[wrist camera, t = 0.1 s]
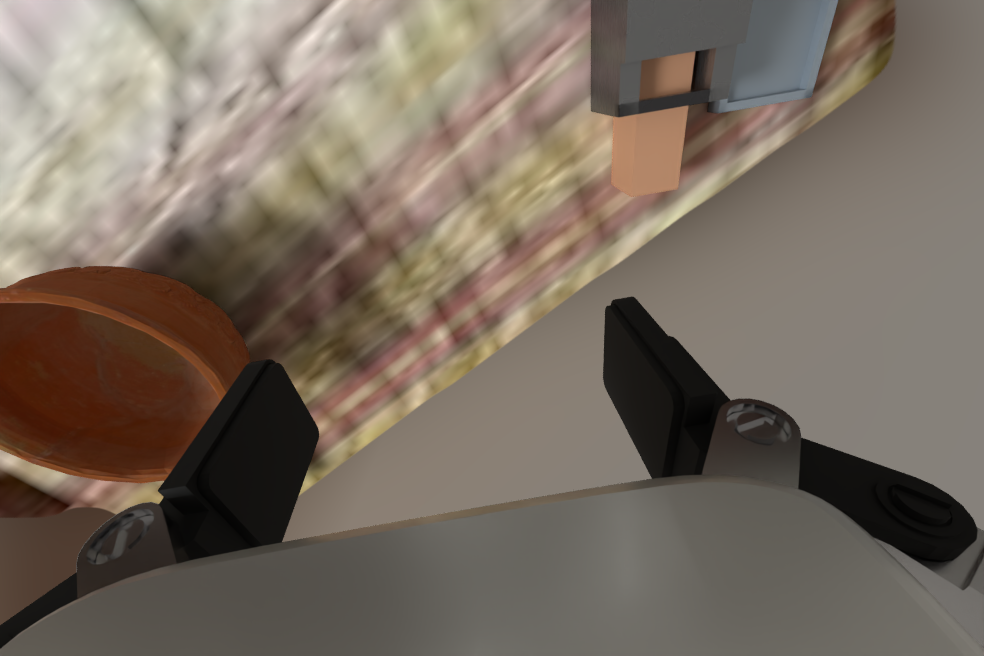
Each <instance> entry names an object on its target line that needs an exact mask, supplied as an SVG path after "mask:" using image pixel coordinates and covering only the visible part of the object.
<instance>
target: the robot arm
mask: <svg viewBox="0 0 984 656" xmlns="http://www.w3.org/2000/svg"><path fill="white" fill-rule="evenodd" d="M603 380H604V385H605V388H606V390H607V392H608V394H609V396H610V398H611V400H612V402H613V404H614V406H615V408H616V410H617V411H618V414H619V415H620V417H621V419H622V421H623V423H624V425H625V427H626V429H627V431H628V433H629V435H630V437H631V439H632V441H633V443H634V445H635V446H636V448H637V450H638V452H639V454H640V456H641V458H642V460H643V462H644V464H645V466H646V468H647V470H648V472H649V474H650V476H651V477H652V479H647V480H641V481H634V482H628V483H621V484H615V485H608V486H602V487H595V488H589V489H583V490H577V491H571V492H565V493H559V494H553V495H547V496H542V497H536V498H530V499H524V500H518V501H513V502H506V503H501V504H495V505H489V506H483V507H478V508H472V509H466V510H460V511H455V512H449V513H444V514H437V515H432V516H426V517H420V518H415V519H409V520H404V521H398V522H392V523H387V524H381V525H375V526H370V527H364V528H358V529H353V530H348V531H343V532H337V533H331V534H325V535H320V536H314V537H309V538H303V539H298V540H293V541H287V542H282V540H283V537H284V535H285V532H286V529H287V526H288V523H289V520H290V518H291V515H292V512H293V509H294V507H295V504H296V501H297V498H298V495H299V493H300V490H301V487H302V484H303V481H304V478H305V476H306V473H307V470H308V467H309V464H310V462H311V459H312V456H313V453H314V450H315V448H316V445H317V442H318V439H319V431H318V427H317V425H316V424H315V422H314V420H313V418H312V417H311V415H310V413H309V411H308V410H307V408H306V406H305V404H304V403H303V401H302V399H301V397H300V396H299V394H298V392H297V391H296V389H295V387H294V385H293V384H292V382H291V380H290V378H289V377H288V375H287V373H286V371H285V370H284V368H283V366H282V365H281V364H279V363H275V362H274V361H273V360H270V359H269V360H263V361H257V362H251V363H248V364H247V365H246V366H245V367H244V369H243V370H242V371H241V373H240V374H239V376H238V377H237V379H236V380H235V381H234V383H233V384H232V386H231V387H230V388H229V390H228V391H227V393H226V394H225V396H224V397H223V398H222V400H221V401H220V403H219V404H218V406H217V407H216V408H215V410H214V411H213V413H212V414H211V416H210V417H209V418H208V420H207V421H206V423H205V424H204V426H203V427H202V428H201V430H200V431H199V433H198V434H197V436H196V437H195V438H194V440H193V441H192V443H191V444H190V445H189V447H188V448H187V450H186V451H185V453H184V454H183V455H182V457H181V458H180V460H179V461H178V463H177V464H176V465H175V467H174V468H173V470H172V471H171V473H170V474H169V475H168V477H167V478H166V480H165V481H164V483H163V484H162V485H161V487H160V488H159V490H158V492H159V493H161V494H162V495H163V496H164V498H163V499H162V501H161V502H160V504H156V503H153V502H148V503H141V504H138V505H135V506H132V507H130V508H128V509H126V510H124V511H122V512H120V513H118V514H117V515H115V516H114V517H113V518H111V519H110V520H108V521H107V522H105V523H104V524H103V525H102V526H101V527H100V528H99V529H98V530H96V531H95V532H94V534H92V536H91V537H90V538H89V539H88V540H87V542H86V543H85V544H84V546H83V548H82V549H81V551H80V553H79V555H78V559H77V564H76V565H77V572H76V573H75V574H73V575H72V576H70V577H69V578H68V579H66V580H65V581H63V582H62V583H60V584H59V585H58V586H56V587H55V588H53V589H52V590H50V591H49V592H47V593H46V594H45V595H43V596H42V597H40V598H39V599H37V600H36V601H35V602H33V603H32V604H30V605H29V606H27V607H26V608H24V609H23V610H22V611H20V612H19V613H17V614H16V615H14V616H13V617H12V618H10V619H9V620H7V621H6V622H4V623H3V624H1V625H0V656H984V531H983V530H981V529H979V528H977V527H976V524H975V522H974V520H973V518H972V517H971V515H970V514H969V513H968V512H967V511H966V510H965V508H964V507H963V506H962V505H961V504H960V503H959V502H957V501H956V500H955V499H954V498H953V497H951V496H950V495H949V494H947V493H946V492H944V491H942V490H940V489H939V488H937V487H935V486H934V485H932V484H930V483H927V482H925V481H923V480H921V479H918V478H916V477H913V476H910V475H907V474H905V473H902V472H899V471H896V470H893V469H890V468H887V467H884V466H881V465H878V464H875V463H873V462H870V461H867V460H864V459H861V458H858V457H855V456H853V455H850V454H847V453H844V452H841V451H838V450H835V449H833V448H830V447H827V446H824V445H821V444H818V443H815V442H812V441H810V440H807V439H803V438H801V433H800V428H799V426H798V425H797V423H796V422H795V421H794V419H793V418H792V417H791V416H790V415H788V414H787V413H786V412H785V411H783V410H781V409H780V408H778V407H776V406H774V405H772V404H769V403H766V402H764V401H760V400H755V399H735V400H730V399H729V398H728V397H727V396H726V395H725V394H724V392H723V391H722V390H721V389H720V388H719V387H718V386H717V385H716V384H715V382H714V381H713V380H712V379H711V378H710V377H709V376H708V375H707V373H706V372H705V371H704V370H703V369H702V368H701V367H700V365H699V364H698V363H697V362H696V361H695V360H694V359H693V358H692V356H691V355H690V354H689V353H688V352H687V351H686V350H685V349H684V348H683V346H682V345H681V344H680V343H679V342H678V341H677V340H676V339H675V338H674V337H671V336H668V335H667V334H666V333H665V332H664V331H663V330H662V328H661V327H660V326H659V325H658V324H657V323H656V321H654V319H653V318H652V317H651V316H650V315H649V313H648V312H647V311H646V310H645V309H644V308H643V307H642V305H641V304H640V303H639V302H638V301H637V300H636V299H635V298H634V297H627V298H622V299H615V300H613V301H612V303H611V305H610V306H607V307H606V309H605V335H604V367H603Z"/></svg>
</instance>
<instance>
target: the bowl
mask: <svg viewBox="0 0 984 656" xmlns="http://www.w3.org/2000/svg"><path fill="white" fill-rule="evenodd" d="M248 363H250V357H249V353H248V350H247V347H246V345H245V342H244V340H243V338H242V336H241V335H240V333H239V332H238V331H237V329H235V328H234V324H233V322H232V321H231V320H230V318H229V317H228V316H227V314H226V313H225V312H224V311H223V310H222V309H221V308H220V307H218V306H217V305H216V304H215V303H213V302H212V301H210V300H209V299H206V298H205V297H203V296H201V295H200V294H198V293H197V292H195V291H194V290H193V289H192V288H190V287H189V286H188V285H186V284H184V283H181V282H179V281H177V280H175V279H172V278H168V277H165V276H162V275H158V274H151V273H147V272H143V271H140V270H137V269H133V268H126V267H112V266H89V267H85V268H80V267H71V268H64V269H59V270H54V271H50V272H46V273H43V274H39V275H35V276H31V277H28V278H25V279H22V280H20V281H18V282H17V283H15V284H13V285H10V286H8V287H7V288H0V450H3V451H5V452H7V453H10V454H12V455H14V456H17V457H19V458H21V459H24V460H26V461H28V462H31V463H33V464H36V465H40V466H43V467H46V468H49V469H53V470H56V471H59V472H62V473H66V474H69V475H74V476H79V477H84V478H90V479H96V480H103V481H116V482H132V483H147V482H155V481H164V480H166V478H167V477H168V475H169V474H170V473H171V471H172V470H173V468H174V467H175V465H176V464H177V463H178V461H179V460H180V458H181V457H182V455H183V454H184V453H185V451H186V450H187V448H188V447H189V445H190V444H191V443H192V441H193V440H194V438H195V437H196V436H197V434H198V433H199V431H200V430H201V428H202V427H203V426H204V424H205V423H206V421H207V420H208V418H209V417H210V416H211V414H212V413H213V411H214V410H215V408H216V407H217V406H218V404H219V403H220V401H221V400H222V398H223V397H224V396H225V394H226V393H227V391H228V390H229V388H230V387H231V386H232V384H233V383H234V381H235V380H236V379H237V377H238V376H239V374H240V373H241V371H242V370H243V369H244V367H245V366H246V365H247V364H248Z"/></svg>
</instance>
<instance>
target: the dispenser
mask: <svg viewBox="0 0 984 656" xmlns="http://www.w3.org/2000/svg"><path fill="white" fill-rule="evenodd" d="M752 4H753V0H591V111H592V112H596V113H601V114H605V115H609V116H614V117H618V118H619V117H625V116H630V115H636V114H642V113H648V112H653V111H659V110H665V109H671V108H677V107H682V106H688V105H694V104H700V103H705V102H711V101H717V100H723V99H728V96H729V90H730V84H731V79H732V73H733V67H734V61H735V56H736V50H737V44H741V43H745V42H746V37H747V31H748V26H749V20H750V15H751V9H752ZM694 51H695V59H694V66H693V74H692V82H691V90H690V91H688V92H682V93H676V94H671V95H665V96H659V97H653V98H647V99H642V100H639V94H640V78H641V63H642V60H648V59H654V58H660V57H665V56H671V55H677V54H683V53H689V52H694Z"/></svg>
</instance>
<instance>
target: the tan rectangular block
mask: <svg viewBox="0 0 984 656" xmlns="http://www.w3.org/2000/svg"><path fill="white" fill-rule="evenodd" d="M694 59H695V51H694V52H689V53H683V54H677V55H671V56H665V57H660V58H654V59H648V60H642V63H641V78H640V94H639V100H642V99H647V98H653V97H659V96H665V95H671V94H676V93H682V92H688V91H690V90H691V82H692V74H693V66H694ZM687 113H688V106H682V107H677V108H671V109H665V110H659V111H653V112H648V113H642V114H636V115H630V116H625V117H619V118H618V117H614V120H613V149H612V178H611V184H612V185H613V186H615V187H616V188H618V189H619V190H621V191H623V192H624V193H626V194H627V195H629V196H631V197H634V196H640V195H646V194H652V193H658V192H663V191H669V190H675V189H678V183H679V175H680V167H681V160H682V152H683V144H684V136H685V129H686V121H687Z"/></svg>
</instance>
